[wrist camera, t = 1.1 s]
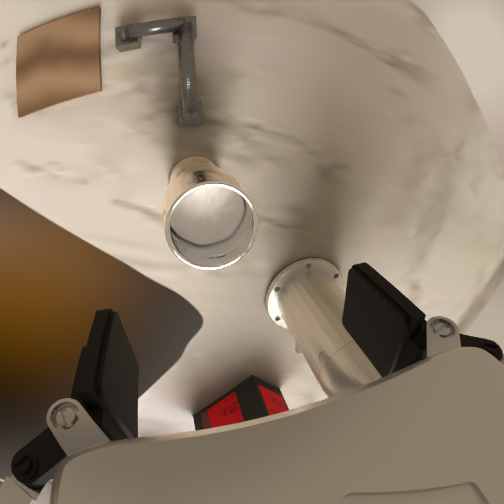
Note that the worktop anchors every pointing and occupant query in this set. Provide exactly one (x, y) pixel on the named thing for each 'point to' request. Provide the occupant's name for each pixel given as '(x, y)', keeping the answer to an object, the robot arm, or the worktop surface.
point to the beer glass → (207, 215)
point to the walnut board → (59, 62)
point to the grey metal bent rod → (185, 37)
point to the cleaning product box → (242, 405)
